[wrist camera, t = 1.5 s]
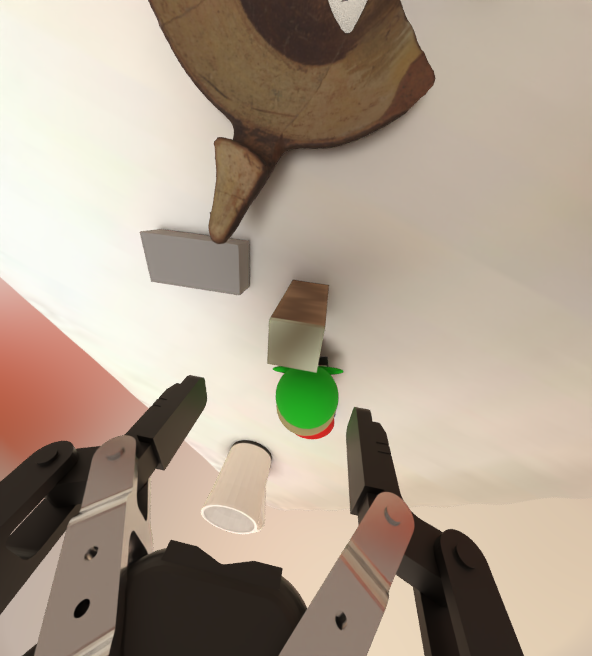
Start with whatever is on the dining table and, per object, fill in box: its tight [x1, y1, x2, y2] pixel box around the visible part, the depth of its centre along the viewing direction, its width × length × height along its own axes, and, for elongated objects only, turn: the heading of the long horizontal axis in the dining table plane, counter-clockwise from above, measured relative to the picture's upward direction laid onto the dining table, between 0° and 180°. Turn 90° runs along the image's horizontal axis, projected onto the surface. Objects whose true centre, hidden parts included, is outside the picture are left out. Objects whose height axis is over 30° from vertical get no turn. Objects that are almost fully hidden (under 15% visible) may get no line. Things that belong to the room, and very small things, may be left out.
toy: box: [273, 357, 343, 439], centre depth 28 cm, size 8×8×15 cm
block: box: [267, 280, 329, 373], centre depth 21 cm, size 4×4×10 cm
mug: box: [201, 441, 272, 534], centre depth 38 cm, size 11×9×10 cm
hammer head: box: [140, 229, 250, 295], centre depth 23 cm, size 10×5×3 cm, turn 84°
